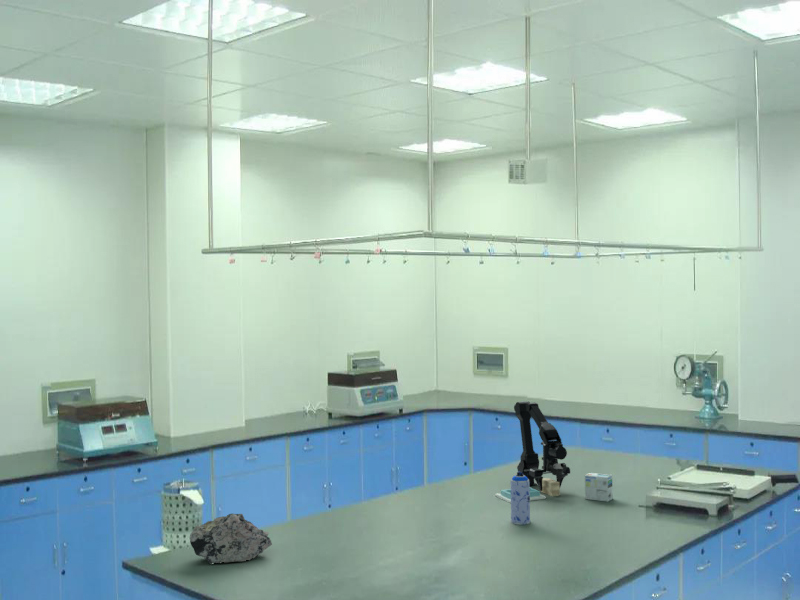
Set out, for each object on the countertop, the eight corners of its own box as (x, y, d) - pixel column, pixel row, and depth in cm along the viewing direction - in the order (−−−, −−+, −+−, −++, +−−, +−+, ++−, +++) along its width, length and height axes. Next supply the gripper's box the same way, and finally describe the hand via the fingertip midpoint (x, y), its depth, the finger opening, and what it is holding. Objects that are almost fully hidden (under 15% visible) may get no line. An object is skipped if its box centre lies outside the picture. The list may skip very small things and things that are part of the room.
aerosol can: (530, 524, 328) (529, 474, 328) (510, 524, 330) (509, 473, 329) (531, 519, 336) (530, 470, 336) (511, 518, 337) (510, 469, 337)
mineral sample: (255, 508, 307) (262, 498, 295) (269, 557, 301) (278, 549, 289) (182, 530, 296) (187, 521, 283) (196, 582, 289) (202, 575, 277)
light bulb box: (613, 498, 368) (612, 474, 368) (608, 502, 363) (608, 477, 363) (589, 496, 374) (589, 472, 374) (584, 499, 368) (584, 474, 368)
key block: (540, 491, 384) (540, 478, 384) (548, 490, 385) (547, 478, 385) (551, 496, 375) (551, 483, 375) (559, 495, 376) (559, 482, 376)
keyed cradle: (495, 495, 377) (494, 489, 377) (529, 492, 383) (529, 485, 383) (509, 502, 364) (509, 495, 364) (545, 498, 370) (545, 491, 370)
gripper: (540, 460, 369) (541, 495, 369) (576, 457, 376) (577, 491, 376) (528, 456, 380) (528, 490, 380) (563, 453, 386) (563, 486, 386)
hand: (549, 490), depth 380 cm, fingers open, 9 cm apart
